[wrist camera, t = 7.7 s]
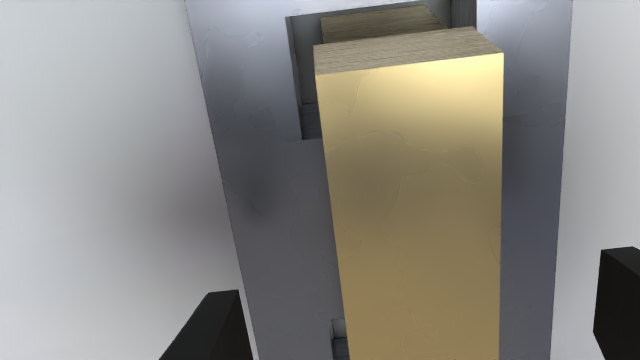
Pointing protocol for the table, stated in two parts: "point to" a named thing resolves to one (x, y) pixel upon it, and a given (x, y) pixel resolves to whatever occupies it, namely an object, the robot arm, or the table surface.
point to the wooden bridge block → (414, 182)
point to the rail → (311, 174)
